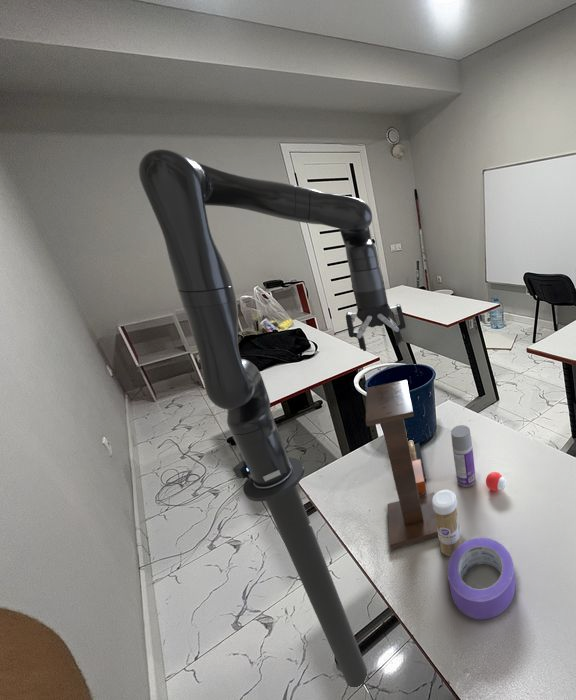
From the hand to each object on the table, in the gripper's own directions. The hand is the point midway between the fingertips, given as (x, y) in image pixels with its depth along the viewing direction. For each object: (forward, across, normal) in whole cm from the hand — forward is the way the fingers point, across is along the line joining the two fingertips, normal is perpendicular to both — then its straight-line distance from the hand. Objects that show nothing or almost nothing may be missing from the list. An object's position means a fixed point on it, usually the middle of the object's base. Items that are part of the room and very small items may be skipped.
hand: (381, 347), depth 93 cm
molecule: (+30, -21, +27) cm, 46 cm away
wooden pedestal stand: (+30, -1, +30) cm, 43 cm away
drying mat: (+30, -2, +11) cm, 32 cm away
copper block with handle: (+30, -3, +12) cm, 32 cm away
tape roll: (+30, -11, +48) cm, 58 cm away
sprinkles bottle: (+30, -8, +39) cm, 50 cm away
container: (+30, -15, +22) cm, 40 cm away
